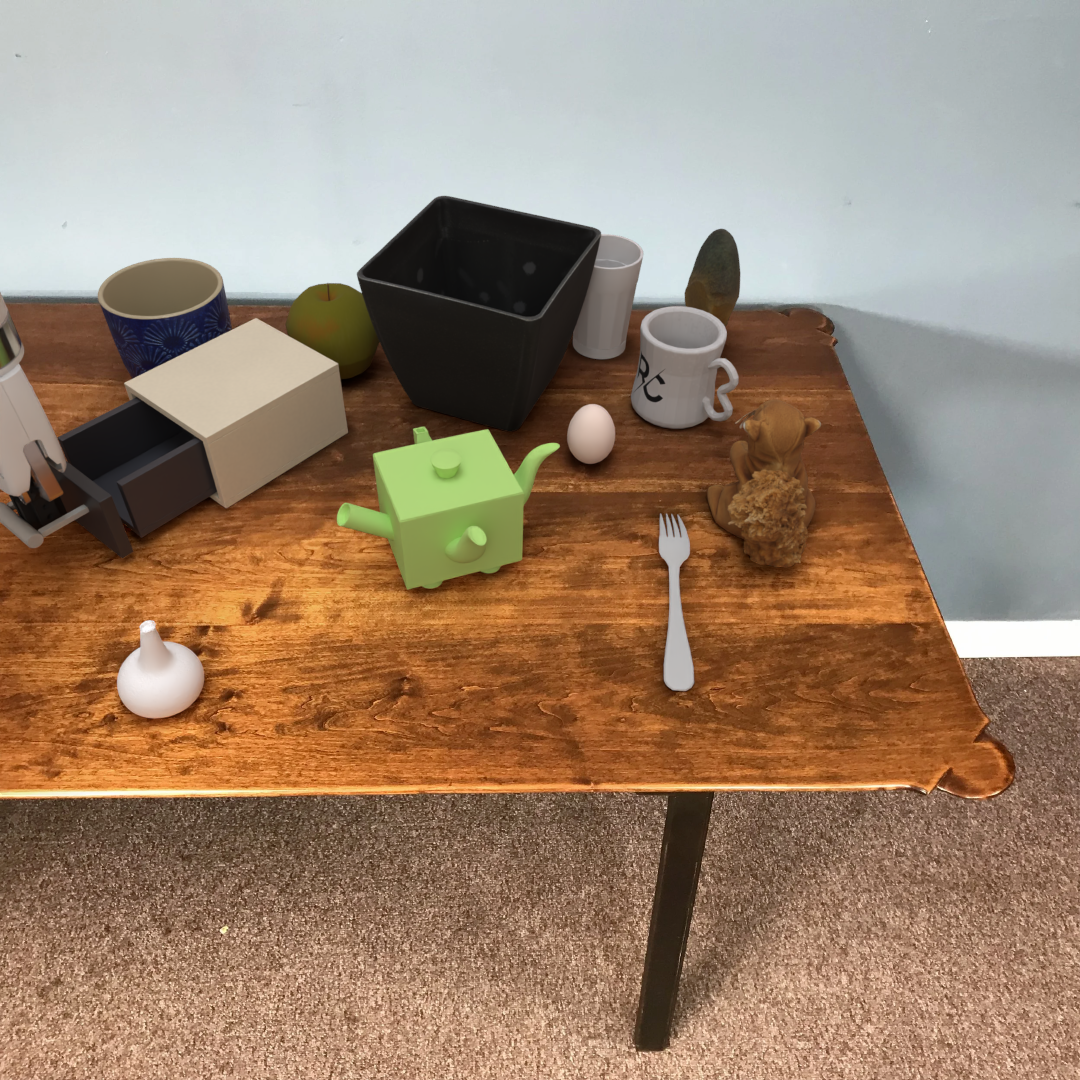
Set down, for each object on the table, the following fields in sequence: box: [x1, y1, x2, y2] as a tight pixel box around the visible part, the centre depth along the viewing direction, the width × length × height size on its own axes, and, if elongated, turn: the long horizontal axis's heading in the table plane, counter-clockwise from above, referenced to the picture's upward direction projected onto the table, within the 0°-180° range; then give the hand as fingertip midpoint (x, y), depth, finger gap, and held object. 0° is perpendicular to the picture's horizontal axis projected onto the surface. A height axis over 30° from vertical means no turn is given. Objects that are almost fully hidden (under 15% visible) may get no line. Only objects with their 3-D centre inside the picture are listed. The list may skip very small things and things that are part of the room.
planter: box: [97, 257, 233, 379], centre depth 99 cm, size 12×12×11 cm
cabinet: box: [123, 317, 349, 509], centre depth 92 cm, size 16×13×9 cm
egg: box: [566, 403, 616, 465], centre depth 92 cm, size 5×5×7 cm
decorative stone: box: [684, 228, 741, 327], centre depth 104 cm, size 10×6×15 cm, turn 169°
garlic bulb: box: [116, 619, 205, 719], centre depth 70 cm, size 6×6×8 cm
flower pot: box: [356, 195, 602, 433], centre depth 97 cm, size 19×19×17 cm
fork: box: [658, 513, 695, 692], centre depth 81 cm, size 3×21×3 cm, turn 177°
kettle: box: [336, 426, 561, 591], centre depth 81 cm, size 15×14×11 cm
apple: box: [284, 282, 380, 380], centre depth 101 cm, size 10×10×11 cm
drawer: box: [0, 397, 217, 559], centre depth 84 cm, size 20×11×7 cm, turn 141°
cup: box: [572, 233, 644, 360], centre depth 106 cm, size 8×8×12 cm
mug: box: [630, 305, 740, 430], centre depth 97 cm, size 12×9×10 cm
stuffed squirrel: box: [706, 399, 822, 568], centre depth 83 cm, size 10×14×13 cm
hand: (47, 523), depth 80 cm, fingers closed
